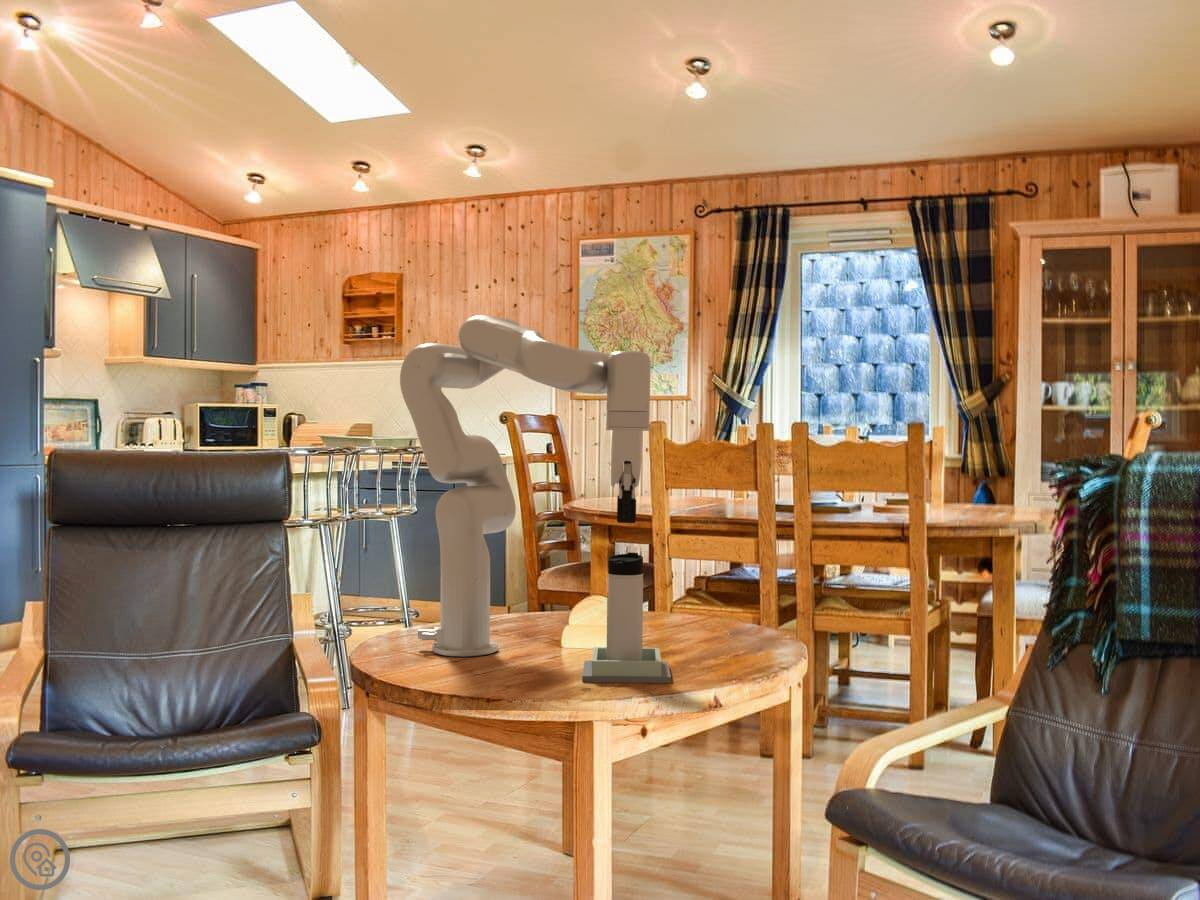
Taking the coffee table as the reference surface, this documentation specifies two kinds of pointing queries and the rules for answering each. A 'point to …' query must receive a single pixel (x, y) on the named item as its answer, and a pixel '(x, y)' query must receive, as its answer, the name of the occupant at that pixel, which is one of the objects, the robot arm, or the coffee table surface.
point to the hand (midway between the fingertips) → (626, 520)
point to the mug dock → (626, 668)
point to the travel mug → (625, 607)
